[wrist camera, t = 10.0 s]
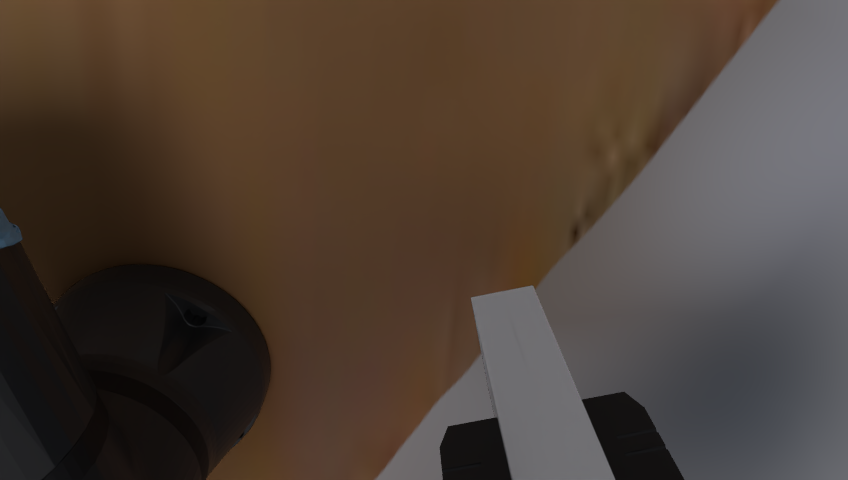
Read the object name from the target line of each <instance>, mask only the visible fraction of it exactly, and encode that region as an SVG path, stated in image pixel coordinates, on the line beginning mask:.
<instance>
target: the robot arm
mask: <svg viewBox="0 0 848 480" xmlns="http://www.w3.org/2000/svg"><path fill="white" fill-rule="evenodd" d="M22 239H23V238H22V235H21V231H20V229H19V227H18V226H17V225H15V224H13V223H11V222H9V221H8V219H7V218H6V216H5V214H4V212H3V211H2V209H1V207H0V480H206V478H207V476H208V475H209V474H210V473H211V471H212V470H213V469H214V468H215V467H216V465H217V464H218V463H219V462H220V461H221V459H222V458H223V457H224V456H225V455H226V454H227V452H228V451H229V450H230V449H231V448H232V447H234V446H235V445H236V444H237V443H238V442H239V441H240V440H241V439H242V438H243V437H244V436H245V435H246V434H247V432H248V431H249V430H250V428H251V427H252V426H253V424H254V422H255V420H256V419H257V417H258V415H259V413H260V410H261V407H262V404H263V401H264V398H265V395H266V392H267V389H268V385H269V381H270V358H269V353H268V349H267V346H266V343H265V340H264V338H263V336H262V334H261V332H260V330H259V328H258V326H257V325H256V323H255V322H254V320H253V319H252V318H251V316H250V315H249V314H248V313H247V312H246V310H245V309H244V308H243V307H242V306H241V305H240V304H239V303H238V302H237V301H235V300H234V299H233V298H232V297H231V296H229V295H228V294H227V293H225V292H224V291H223V290H221V289H220V288H218V287H216V286H215V285H213V284H211V283H210V282H208V281H206V280H204V279H202V278H199V277H197V276H195V275H192V274H189V273H187V272H183V271H180V270H177V269H172V268H168V267H162V266H155V265H124V266H118V267H113V268H108V269H105V270H102V271H99V272H96V273H94V274H91V275H89V276H87V277H85V278H84V279H82V280H80V281H79V282H77V283H76V284H75V285H73V286H72V287H71V288H70V289H69V290H67V291H66V292H65V293H64V294H63V295H62V296H61V297H60V299H59V300H58V301H57V302H56V303H55V304H54V305H53V304H52V303H51V301H50V299H49V297H48V295H47V293H46V291H45V289H44V287H43V285H42V283H41V281H40V280H39V278H38V276H37V274H36V272H35V270H34V268H33V266H32V264H31V262H30V260H29V259H28V257H27V255H26V253H25V251H24V249H23V247H22V245H21V243H20V241H21V240H22ZM471 301H472V306H473V311H474V317H475V322H476V327H477V332H478V338H479V343H480V348H481V353H482V359H483V364H484V369H485V374H486V379H487V385H488V390H489V394H490V399H491V403H492V407H493V412H494V416H495V418H491V419H486V420H480V421H475V422H469V423H464V424H459V425H453V426H448V428H447V430H446V433H445V435H444V438H443V441H442V443H441V446H440V455H441V464H442V473H443V474H442V475H443V480H684V478H683V476H682V475H681V473H680V471H679V469H678V467H677V466H676V464H675V462H674V460H673V458H672V457H671V455H670V453H669V451H668V450H666V447H665V444H664V442H663V440H662V439H661V437H660V435H659V433H658V432H657V431H656V428H655V426H654V424H653V422H652V420H651V419H650V417H649V415H648V413H647V411H646V410H645V408H644V407H643V406H642V405H640V404H639V403H638V402H637V401H635V400H634V399H633V398H631V397H630V396H629V395H628V394H626V393H625V392H621V393H615V394H610V395H604V396H599V397H594V398H588V399H583V400H581V398H580V395H579V393H578V391H577V388H576V386H575V383H574V381H573V379H572V376H571V374H570V372H569V369H568V367H567V365H566V363H565V360H564V358H563V355H562V353H561V350H560V348H559V346H558V343H557V341H556V339H555V336H554V334H553V332H552V329H551V327H550V325H549V322H548V320H547V318H546V315H545V313H544V311H543V308H542V306H541V304H540V301H539V299H538V296H537V294H536V292H535V289H534V287H533V285H532V286H527V287H522V288H517V289H512V290H507V291H502V292H497V293H491V294H486V295H481V296H476V297H471Z"/></svg>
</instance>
